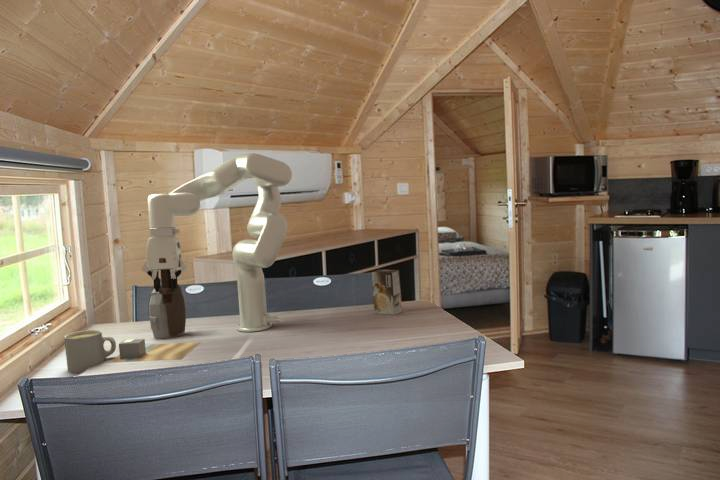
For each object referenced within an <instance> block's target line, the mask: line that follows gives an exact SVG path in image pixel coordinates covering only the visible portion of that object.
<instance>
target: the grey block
mask: <svg viewBox="0 0 720 480" xmlns="http://www.w3.org/2000/svg"><path fill="white" fill-rule="evenodd" d="M145 345H146V339H145V338H137V339H136V338H135V339H134V338H133V339H132V338H131V339H124V340H123V341H120V343H118V350H119V355H120V359H125V358H140V357H142V356H143V355H144V354H146V349H145Z"/></svg>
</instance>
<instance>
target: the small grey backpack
mask: <svg viewBox="0 0 720 480" xmlns="http://www.w3.org/2000/svg"><path fill="white" fill-rule="evenodd" d="M162 301H163V300H162V294H159V292H155V289H154V288H153V289H152V291H151V294H150V295H149V299H148V305H147V306H148V317H149V322H150V323H149V324H150V329H151V332H152V335H153V339H158V340H159V339H160V340H161V339H164V340H165V339H169V338H170V339H171V338H178V337H179V336H181V335H183V334H185V332H186V322H187V321H186V320H187V309H186V308H187V307H186V303H185V297H184V295H183V289H182V286H180V285H179V284H178V288H177V290H176V291H174V293H172V304H171V305H163V304H162Z"/></svg>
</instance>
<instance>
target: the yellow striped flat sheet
mask: <svg viewBox="0 0 720 480" xmlns="http://www.w3.org/2000/svg"><path fill="white" fill-rule="evenodd" d="M201 343H202V342H201V341H199V342H195V341H194V342H177V343H176V342H175V343H173V342H172V343H157V344H156V343H153V344H150V343H149V344H145V349H146V354H144V355H143V356H142V357H140V358H125V359H120V354H118V355H116V356H115V357H114V358H112V359H110V360H109V361H107V363H129V362H132V363H133V362H152V361H157V362H158V361H174V360H175V361H177V360H179V361H180V360H183V359H184V358H185V357H186V356H187V355H189V353H191V352H192V351H193V350H194V349H195V348H196V347H197V346H198V345H200V344H201Z"/></svg>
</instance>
